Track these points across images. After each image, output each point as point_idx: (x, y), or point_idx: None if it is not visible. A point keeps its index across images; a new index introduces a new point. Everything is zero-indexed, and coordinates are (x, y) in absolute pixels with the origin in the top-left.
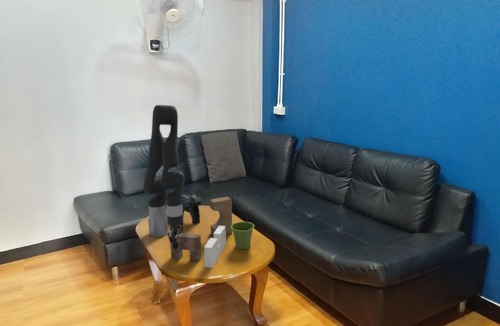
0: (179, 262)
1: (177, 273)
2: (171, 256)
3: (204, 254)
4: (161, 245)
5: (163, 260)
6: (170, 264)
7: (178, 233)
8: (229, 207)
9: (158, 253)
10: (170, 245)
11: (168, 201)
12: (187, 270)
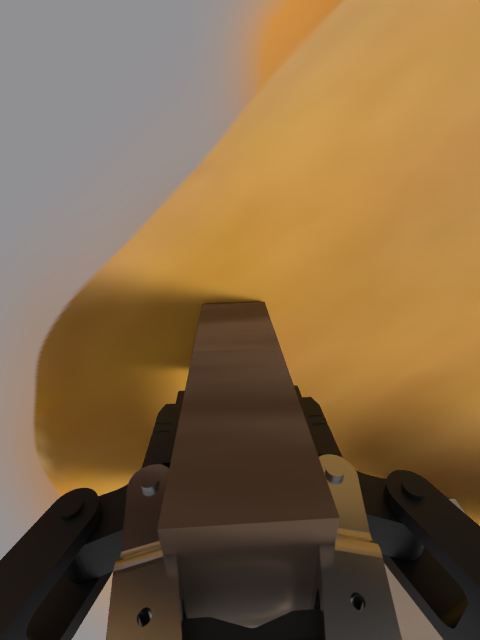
0: (169, 381)
1: (37, 423)
2: (201, 314)
3: None
4: (457, 61)
5: (156, 250)
6: (120, 335)
7: (298, 605)
8: None
9: (269, 126)
10: (188, 374)
11: None
12: (97, 458)
